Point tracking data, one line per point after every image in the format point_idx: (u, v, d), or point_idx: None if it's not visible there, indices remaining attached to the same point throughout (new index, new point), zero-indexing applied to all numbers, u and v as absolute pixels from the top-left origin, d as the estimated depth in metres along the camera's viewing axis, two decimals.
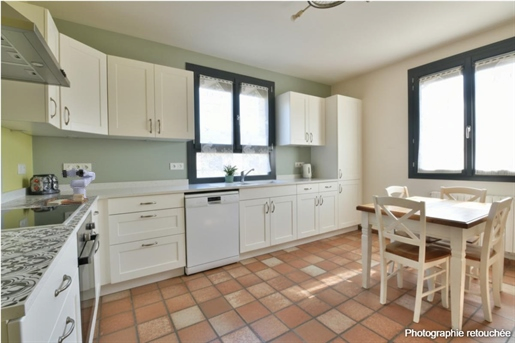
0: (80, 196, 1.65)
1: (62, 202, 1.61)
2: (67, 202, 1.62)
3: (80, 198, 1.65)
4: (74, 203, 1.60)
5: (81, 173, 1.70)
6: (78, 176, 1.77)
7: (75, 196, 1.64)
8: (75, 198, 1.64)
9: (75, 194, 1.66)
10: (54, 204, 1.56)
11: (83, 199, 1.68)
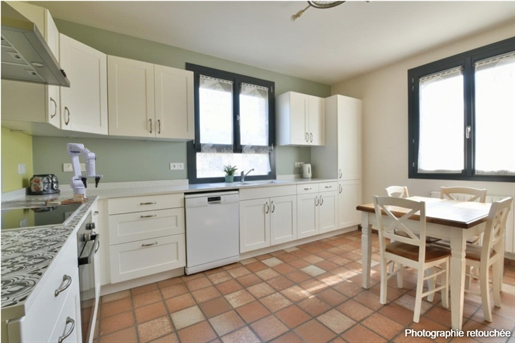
0: (80, 196, 1.65)
1: (62, 202, 1.61)
2: (67, 202, 1.62)
3: (80, 198, 1.65)
4: (74, 203, 1.60)
5: None
6: None
7: (75, 196, 1.64)
8: (75, 198, 1.64)
9: (75, 194, 1.66)
10: (54, 204, 1.56)
11: (83, 199, 1.68)
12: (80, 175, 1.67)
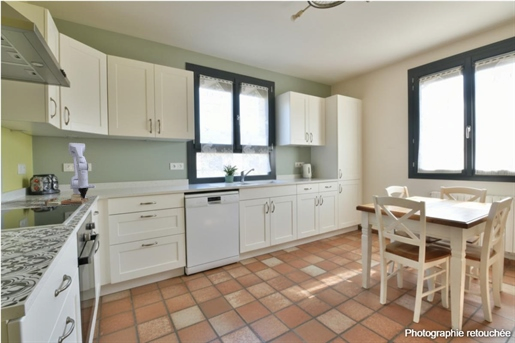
0: (78, 196, 1.65)
1: (62, 202, 1.61)
2: (67, 202, 1.62)
3: (78, 198, 1.65)
4: (74, 203, 1.60)
5: None
6: None
7: (73, 196, 1.64)
8: (73, 198, 1.64)
9: (73, 194, 1.66)
10: (54, 204, 1.56)
11: (81, 199, 1.68)
12: (72, 186, 1.65)
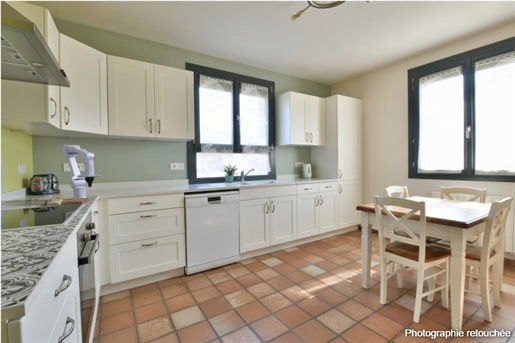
0: (58, 197, 1.61)
1: (62, 202, 1.61)
2: (67, 202, 1.62)
3: (58, 199, 1.61)
4: (74, 203, 1.60)
5: None
6: None
7: (53, 197, 1.59)
8: (53, 199, 1.59)
9: (53, 195, 1.62)
10: (54, 204, 1.56)
11: (62, 200, 1.64)
12: (79, 175, 1.71)
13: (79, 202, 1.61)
